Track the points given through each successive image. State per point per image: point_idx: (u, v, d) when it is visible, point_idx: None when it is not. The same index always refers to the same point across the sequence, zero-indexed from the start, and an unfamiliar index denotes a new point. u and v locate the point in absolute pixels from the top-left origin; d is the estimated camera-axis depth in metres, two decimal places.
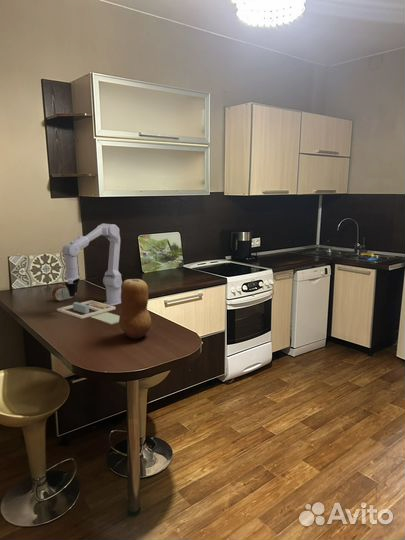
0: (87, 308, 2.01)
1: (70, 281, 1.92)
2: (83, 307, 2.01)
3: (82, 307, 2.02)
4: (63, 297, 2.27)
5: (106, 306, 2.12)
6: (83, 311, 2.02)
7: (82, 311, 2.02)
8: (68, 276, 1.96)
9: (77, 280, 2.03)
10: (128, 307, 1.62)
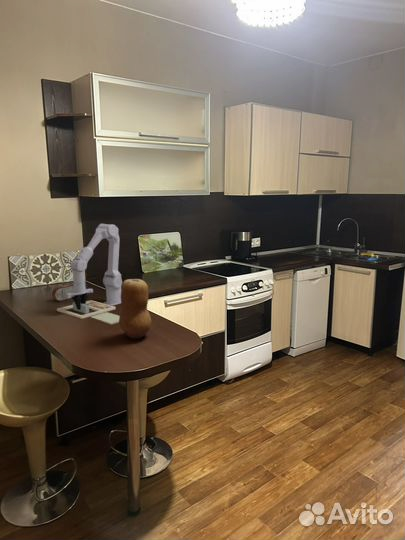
0: (87, 308, 2.01)
1: (67, 295, 1.98)
2: (83, 306, 2.01)
3: (82, 307, 2.02)
4: (63, 297, 2.27)
5: (106, 306, 2.12)
6: (83, 310, 2.02)
7: (82, 311, 2.02)
8: (74, 290, 2.02)
9: (84, 296, 2.03)
10: (128, 307, 1.62)
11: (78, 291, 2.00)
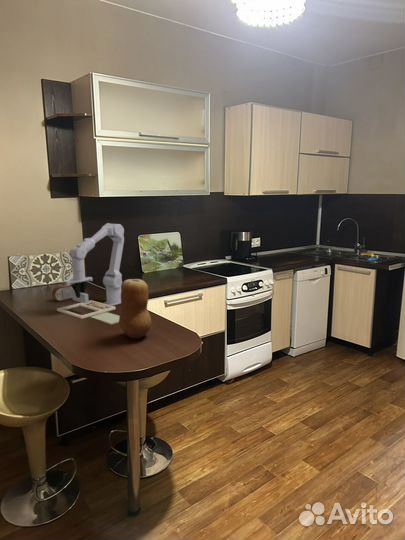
0: (86, 296, 2.00)
1: (66, 283, 1.96)
2: (83, 295, 2.00)
3: (81, 295, 2.01)
4: (63, 297, 2.27)
5: (106, 306, 2.12)
6: (83, 299, 2.01)
7: (81, 300, 2.01)
8: (73, 278, 2.01)
9: (83, 284, 2.02)
10: (128, 307, 1.62)
11: (77, 279, 1.99)
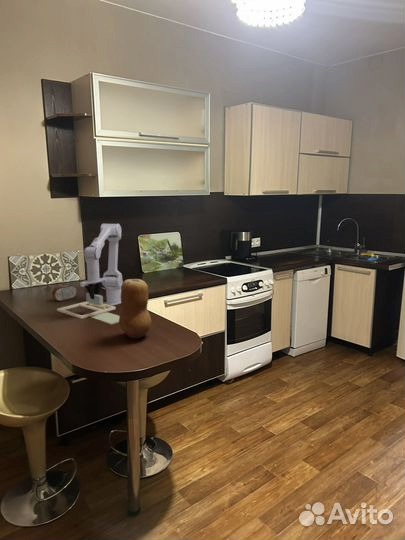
0: (101, 298, 1.94)
1: (81, 284, 1.90)
2: (97, 297, 1.94)
3: (96, 297, 1.95)
4: (63, 297, 2.27)
5: (106, 306, 2.12)
6: (97, 301, 1.95)
7: (96, 302, 1.95)
8: None
9: (98, 285, 1.96)
10: (128, 307, 1.62)
11: (92, 280, 1.93)
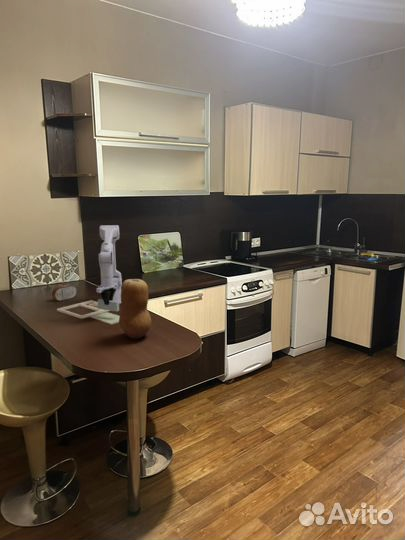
0: (118, 304, 1.91)
1: (98, 290, 1.85)
2: (113, 303, 1.90)
3: (112, 303, 1.91)
4: (63, 297, 2.27)
5: None
6: (113, 307, 1.91)
7: (111, 308, 1.91)
8: (101, 284, 1.89)
9: (112, 290, 1.92)
10: (128, 307, 1.62)
11: (108, 285, 1.89)
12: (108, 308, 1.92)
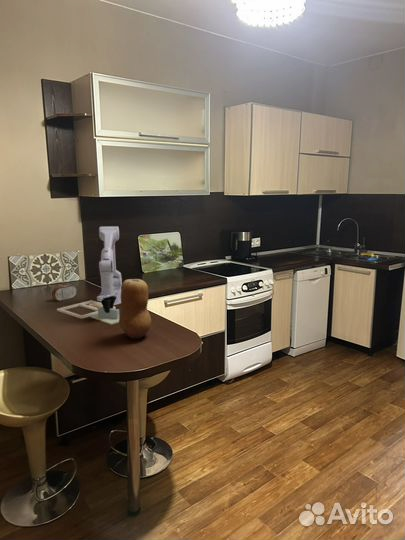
0: (118, 312, 1.92)
1: (98, 298, 1.86)
2: (114, 311, 1.91)
3: (112, 311, 1.92)
4: (63, 297, 2.27)
5: None
6: (114, 315, 1.92)
7: (112, 316, 1.92)
8: (102, 293, 1.90)
9: (112, 299, 1.93)
10: (128, 307, 1.62)
11: (108, 293, 1.89)
12: (108, 316, 1.93)
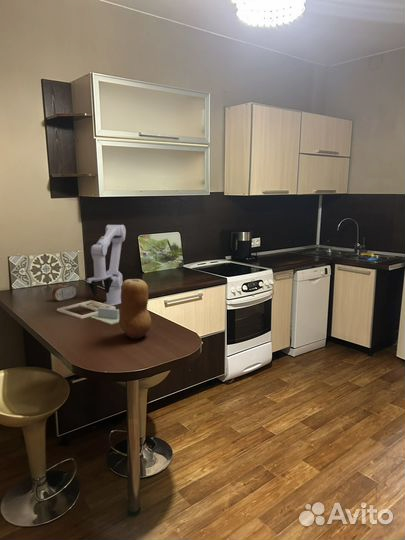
0: (118, 312, 1.92)
1: (88, 280, 1.97)
2: (114, 311, 1.91)
3: (112, 311, 1.92)
4: (63, 297, 2.27)
5: (106, 306, 2.12)
6: (114, 315, 1.92)
7: (112, 316, 1.92)
8: (94, 275, 2.01)
9: (108, 281, 2.04)
10: (128, 307, 1.62)
11: (99, 276, 1.99)
12: (108, 316, 1.93)
